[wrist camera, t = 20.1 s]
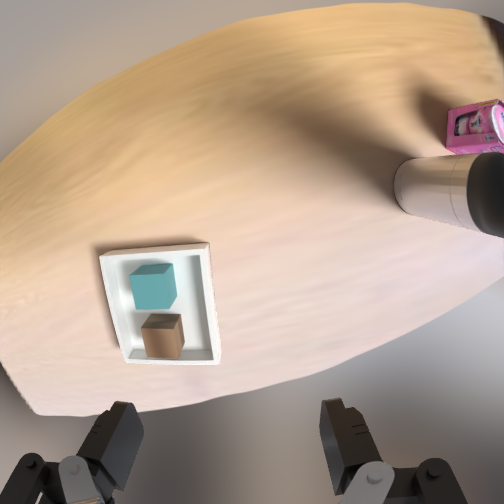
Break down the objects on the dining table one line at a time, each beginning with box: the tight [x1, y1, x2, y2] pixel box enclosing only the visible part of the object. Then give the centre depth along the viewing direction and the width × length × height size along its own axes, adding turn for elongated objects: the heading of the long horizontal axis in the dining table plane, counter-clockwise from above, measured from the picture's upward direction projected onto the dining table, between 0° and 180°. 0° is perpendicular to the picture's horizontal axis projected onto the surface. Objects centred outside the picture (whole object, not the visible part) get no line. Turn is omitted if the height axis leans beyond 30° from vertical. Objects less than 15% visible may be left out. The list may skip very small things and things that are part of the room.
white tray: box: [99, 243, 222, 365], centre depth 41 cm, size 16×18×4 cm
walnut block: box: [141, 314, 185, 359], centre depth 40 cm, size 5×5×5 cm
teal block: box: [129, 264, 177, 310], centre depth 39 cm, size 5×5×5 cm
